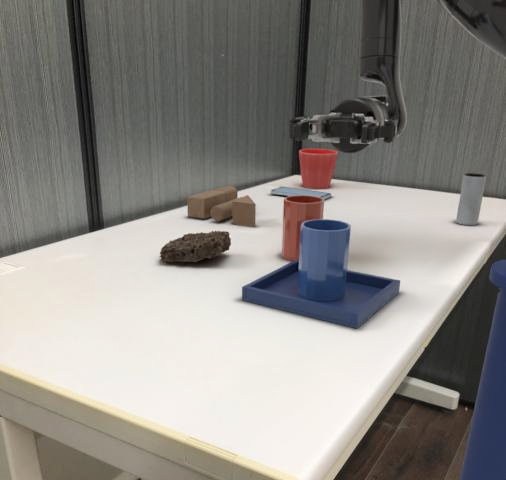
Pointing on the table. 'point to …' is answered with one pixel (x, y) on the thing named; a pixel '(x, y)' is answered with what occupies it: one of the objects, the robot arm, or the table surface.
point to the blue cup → (323, 259)
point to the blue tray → (340, 311)
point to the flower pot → (317, 167)
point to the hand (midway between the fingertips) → (330, 133)
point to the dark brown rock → (196, 247)
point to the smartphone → (299, 192)
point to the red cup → (298, 221)
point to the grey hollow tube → (470, 198)
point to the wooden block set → (222, 206)
